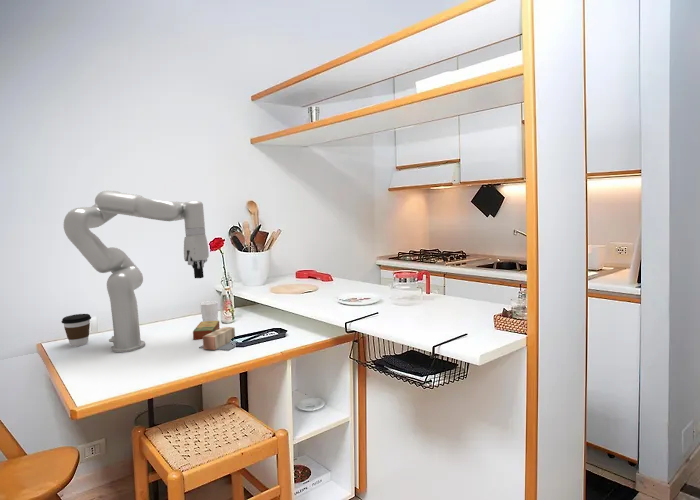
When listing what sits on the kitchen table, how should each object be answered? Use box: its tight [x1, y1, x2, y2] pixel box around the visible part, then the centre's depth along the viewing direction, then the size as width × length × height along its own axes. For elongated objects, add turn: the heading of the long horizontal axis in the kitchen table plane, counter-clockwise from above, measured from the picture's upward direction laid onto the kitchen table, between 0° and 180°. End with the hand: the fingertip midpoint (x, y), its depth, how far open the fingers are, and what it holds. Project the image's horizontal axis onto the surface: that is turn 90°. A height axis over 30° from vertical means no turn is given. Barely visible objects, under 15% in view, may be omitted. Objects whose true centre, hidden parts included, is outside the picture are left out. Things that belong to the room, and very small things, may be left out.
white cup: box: [199, 300, 219, 322], centre depth 225 cm, size 8×8×10 cm
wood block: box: [202, 326, 236, 351], centre depth 189 cm, size 5×5×14 cm
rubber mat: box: [198, 342, 236, 352], centre depth 192 cm, size 14×16×1 cm
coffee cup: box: [60, 313, 92, 347], centre depth 199 cm, size 11×11×12 cm
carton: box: [192, 320, 221, 341], centre depth 207 cm, size 8×16×4 cm, turn 5°
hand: (199, 277), depth 190 cm, fingers closed
